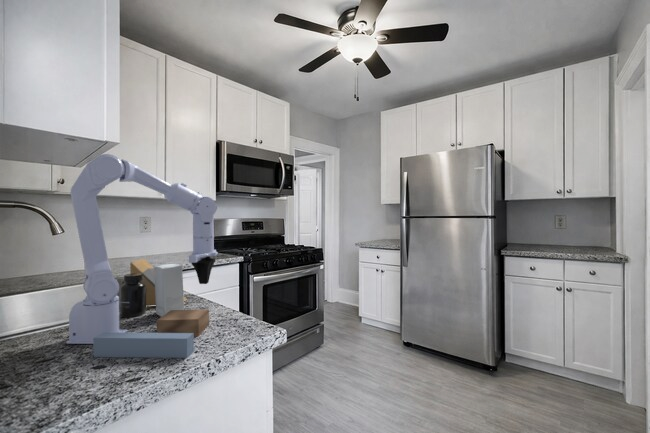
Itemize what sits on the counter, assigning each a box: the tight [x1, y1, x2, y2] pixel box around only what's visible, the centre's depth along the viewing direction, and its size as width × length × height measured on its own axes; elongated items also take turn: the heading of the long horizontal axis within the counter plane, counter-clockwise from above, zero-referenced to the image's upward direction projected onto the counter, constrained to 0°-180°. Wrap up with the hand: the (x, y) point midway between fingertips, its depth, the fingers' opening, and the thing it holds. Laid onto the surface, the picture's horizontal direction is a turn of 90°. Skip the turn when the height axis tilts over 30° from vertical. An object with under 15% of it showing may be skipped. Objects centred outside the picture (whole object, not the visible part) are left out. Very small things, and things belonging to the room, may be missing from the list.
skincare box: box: [153, 263, 185, 318], centre depth 93 cm, size 8×6×15 cm
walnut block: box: [156, 308, 210, 338], centre depth 80 cm, size 10×8×4 cm
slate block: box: [92, 332, 195, 359], centre depth 66 cm, size 20×3×4 cm, turn 88°
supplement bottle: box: [119, 273, 147, 318], centre depth 94 cm, size 7×7×12 cm
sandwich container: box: [129, 258, 188, 305], centre depth 105 cm, size 9×15×15 cm, turn 93°
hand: (203, 283), depth 92 cm, fingers closed
